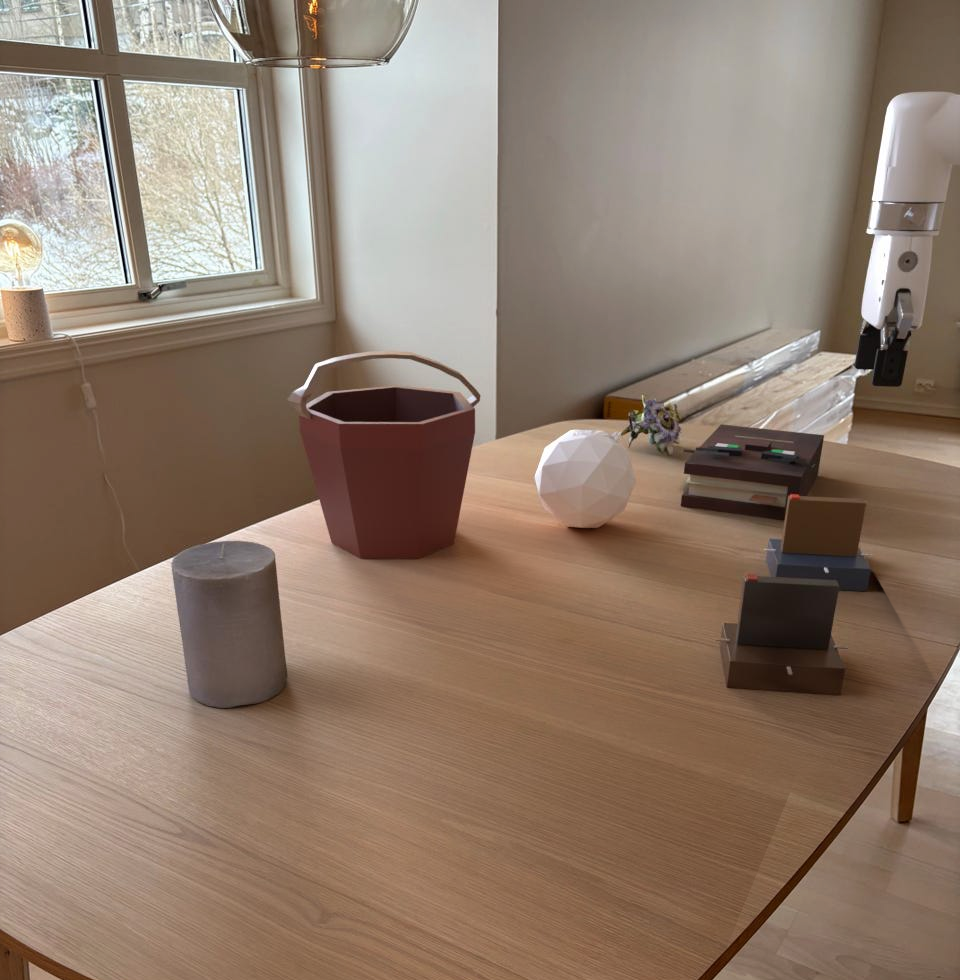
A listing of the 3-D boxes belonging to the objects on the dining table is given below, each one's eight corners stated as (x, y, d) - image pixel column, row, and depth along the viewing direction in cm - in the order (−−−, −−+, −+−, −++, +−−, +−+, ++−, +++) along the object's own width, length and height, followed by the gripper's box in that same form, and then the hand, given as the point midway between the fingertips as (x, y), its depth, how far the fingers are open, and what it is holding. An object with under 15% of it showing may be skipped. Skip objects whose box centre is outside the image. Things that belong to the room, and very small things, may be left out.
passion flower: (665, 483, 177) (669, 440, 166) (609, 465, 180) (609, 422, 170) (688, 437, 181) (693, 393, 171) (633, 420, 184) (635, 375, 174)
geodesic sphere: (627, 462, 149) (579, 391, 141) (677, 489, 137) (628, 413, 129) (553, 529, 149) (501, 462, 141) (598, 562, 137) (543, 490, 129)
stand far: (857, 558, 130) (861, 536, 128) (880, 599, 118) (884, 574, 117) (755, 553, 131) (758, 531, 130) (767, 592, 120) (770, 568, 118)
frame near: (825, 643, 101) (837, 577, 97) (828, 650, 99) (840, 584, 96) (735, 637, 102) (744, 572, 98) (737, 644, 100) (745, 579, 97)
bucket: (290, 566, 127) (272, 369, 116) (317, 510, 147) (304, 337, 136) (479, 566, 127) (479, 369, 116) (481, 511, 147) (481, 338, 136)
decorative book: (834, 427, 162) (809, 476, 137) (827, 472, 165) (801, 527, 140) (717, 415, 169) (673, 460, 144) (712, 458, 172) (668, 509, 148)
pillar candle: (232, 655, 105) (216, 521, 98) (307, 675, 100) (295, 537, 94) (167, 695, 97) (144, 552, 90) (245, 719, 93) (227, 571, 86)
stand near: (831, 645, 107) (836, 619, 105) (856, 706, 95) (861, 677, 94) (708, 638, 108) (711, 612, 107) (717, 697, 97) (720, 668, 95)
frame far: (854, 552, 123) (864, 497, 120) (856, 557, 122) (866, 501, 119) (780, 548, 125) (788, 493, 121) (781, 553, 123) (790, 497, 120)
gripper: (963, 225, 100) (929, 394, 108) (919, 215, 116) (892, 364, 123) (887, 224, 101) (858, 392, 109) (853, 215, 117) (830, 362, 124)
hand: (876, 377), depth 116 cm, fingers open, 9 cm apart
